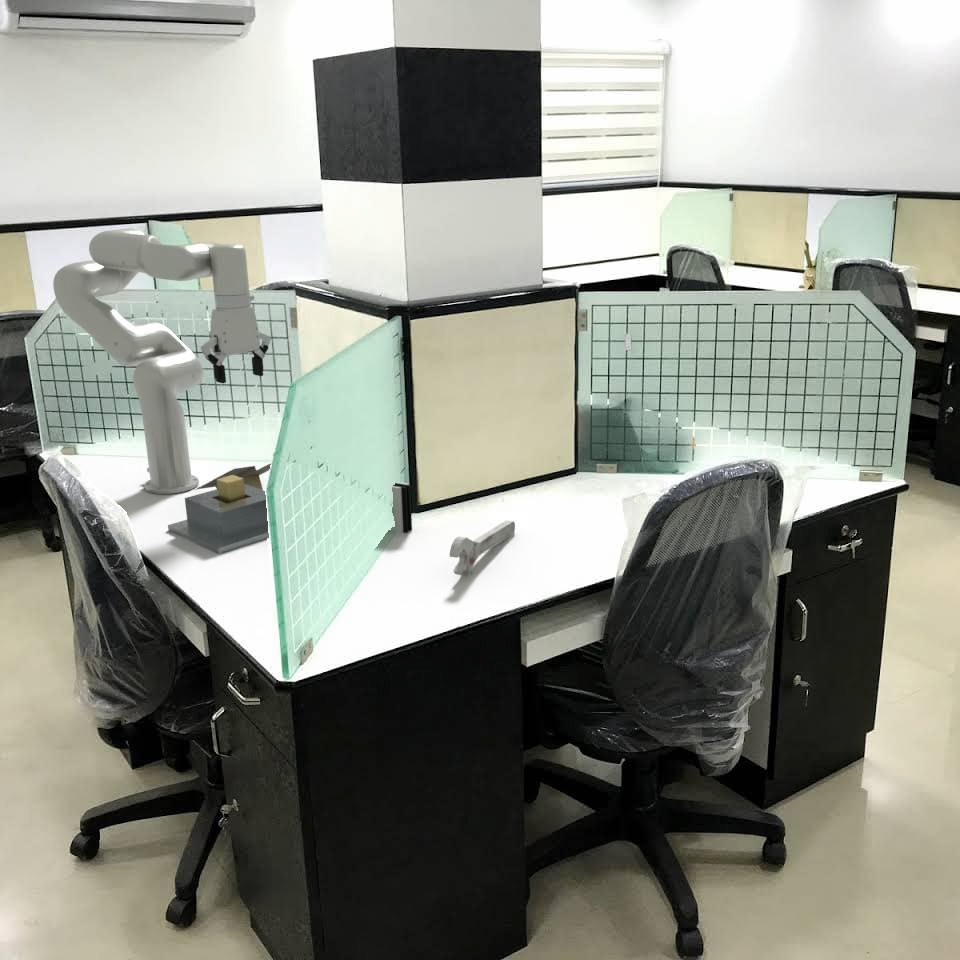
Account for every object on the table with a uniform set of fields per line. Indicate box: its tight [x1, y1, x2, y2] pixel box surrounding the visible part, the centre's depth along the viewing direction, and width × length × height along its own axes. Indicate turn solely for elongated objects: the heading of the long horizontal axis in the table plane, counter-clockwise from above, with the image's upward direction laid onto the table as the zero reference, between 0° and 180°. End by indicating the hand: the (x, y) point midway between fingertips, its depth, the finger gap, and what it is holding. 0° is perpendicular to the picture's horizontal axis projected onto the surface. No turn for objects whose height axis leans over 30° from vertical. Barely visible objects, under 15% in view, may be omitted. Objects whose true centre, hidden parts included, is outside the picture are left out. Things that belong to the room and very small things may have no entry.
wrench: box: [449, 520, 516, 576], centre depth 195 cm, size 8×2×30 cm
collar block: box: [167, 484, 269, 555], centre depth 212 cm, size 20×20×7 cm
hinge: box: [388, 481, 413, 534], centre depth 211 cm, size 14×5×10 cm, turn 74°
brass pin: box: [216, 475, 245, 504], centre depth 211 cm, size 4×4×10 cm
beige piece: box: [194, 463, 272, 491], centre depth 233 cm, size 16×9×15 cm
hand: (239, 378), depth 224 cm, fingers open, 9 cm apart
